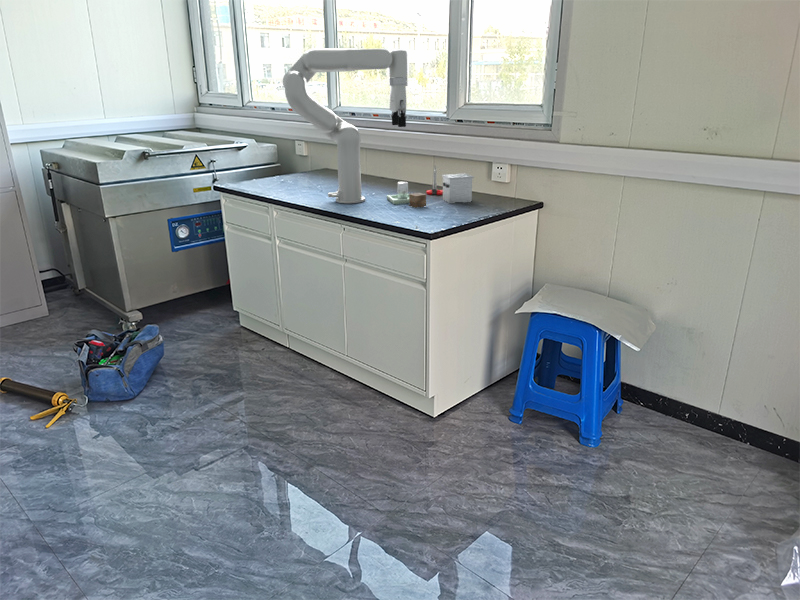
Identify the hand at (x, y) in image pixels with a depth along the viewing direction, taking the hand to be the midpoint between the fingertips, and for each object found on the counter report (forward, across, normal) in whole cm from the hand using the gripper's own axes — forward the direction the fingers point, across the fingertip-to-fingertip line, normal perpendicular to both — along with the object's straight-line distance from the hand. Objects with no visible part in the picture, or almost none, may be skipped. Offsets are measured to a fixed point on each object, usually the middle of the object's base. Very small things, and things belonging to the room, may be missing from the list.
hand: (398, 125), depth 244 cm
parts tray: (+30, +8, -1) cm, 31 cm away
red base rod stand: (+31, -4, +18) cm, 36 cm away
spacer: (+29, +8, -1) cm, 30 cm away
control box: (+30, +15, +21) cm, 40 cm away
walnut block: (+30, +19, +2) cm, 36 cm away
